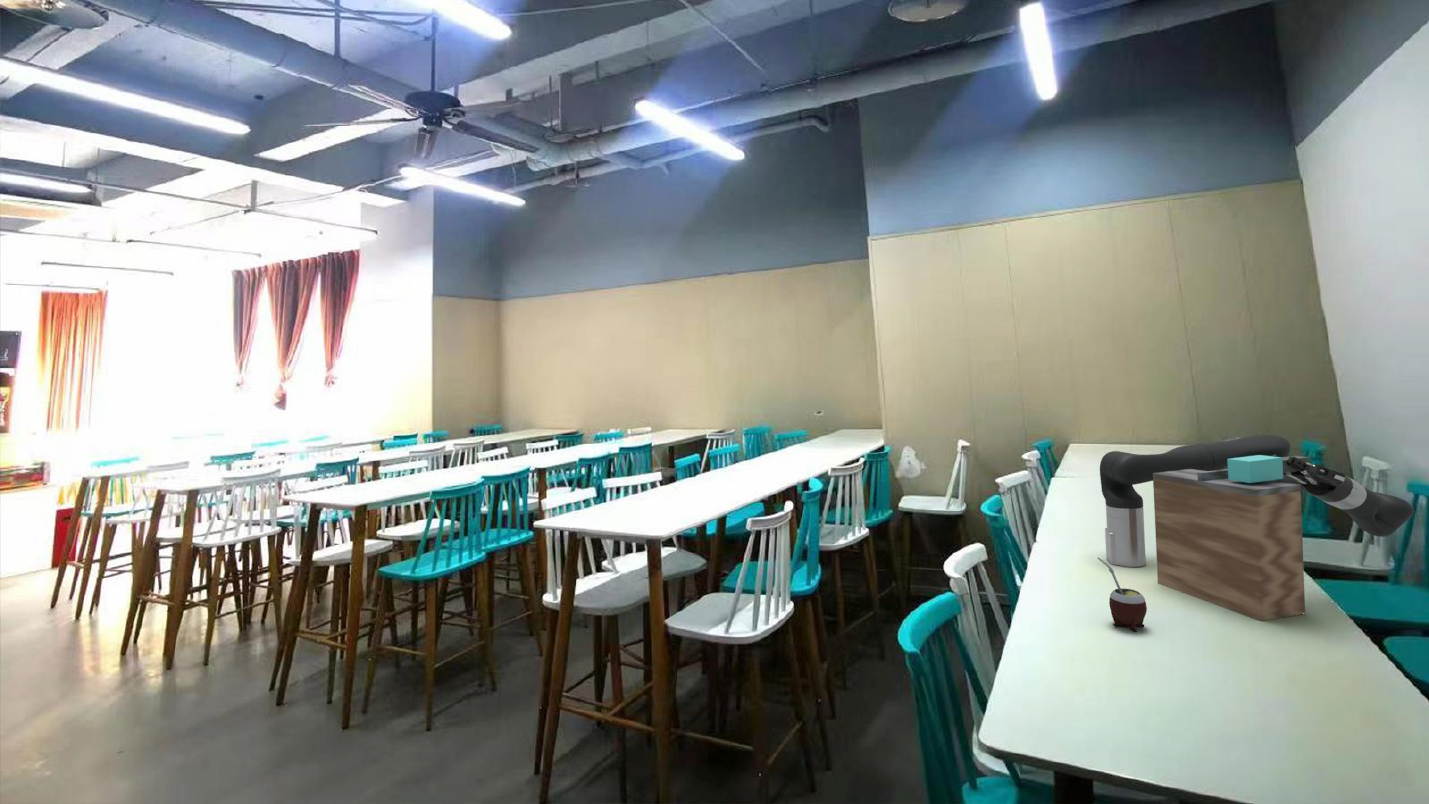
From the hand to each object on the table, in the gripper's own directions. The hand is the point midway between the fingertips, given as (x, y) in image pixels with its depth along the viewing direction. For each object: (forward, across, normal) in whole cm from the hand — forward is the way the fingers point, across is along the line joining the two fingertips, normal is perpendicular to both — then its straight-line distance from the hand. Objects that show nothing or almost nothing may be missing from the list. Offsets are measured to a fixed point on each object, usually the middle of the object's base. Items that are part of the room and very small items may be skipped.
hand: (1281, 459), depth 140 cm
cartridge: (+1, 0, +5) cm, 5 cm away
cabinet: (-10, -7, +35) cm, 37 cm away
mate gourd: (+20, -1, +52) cm, 56 cm away
